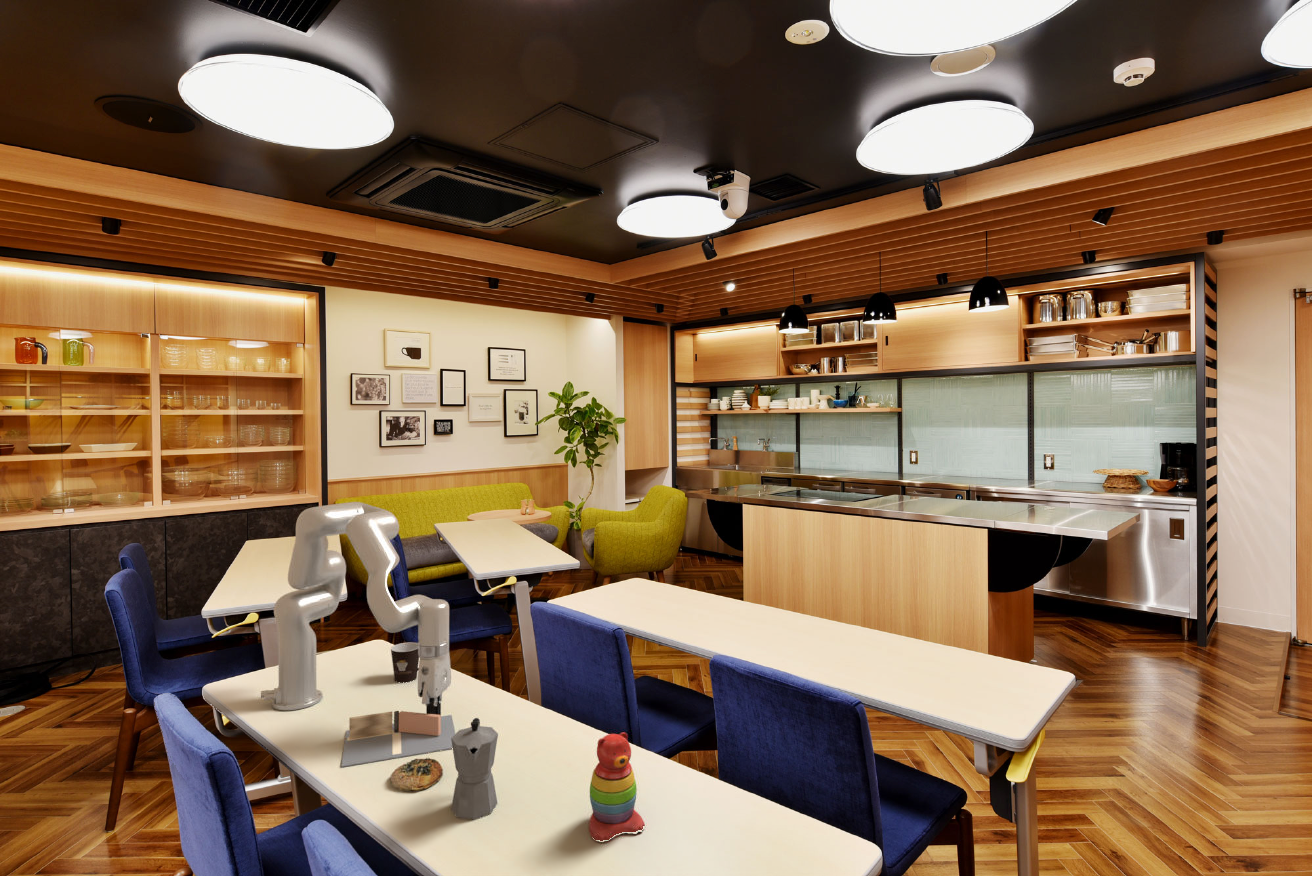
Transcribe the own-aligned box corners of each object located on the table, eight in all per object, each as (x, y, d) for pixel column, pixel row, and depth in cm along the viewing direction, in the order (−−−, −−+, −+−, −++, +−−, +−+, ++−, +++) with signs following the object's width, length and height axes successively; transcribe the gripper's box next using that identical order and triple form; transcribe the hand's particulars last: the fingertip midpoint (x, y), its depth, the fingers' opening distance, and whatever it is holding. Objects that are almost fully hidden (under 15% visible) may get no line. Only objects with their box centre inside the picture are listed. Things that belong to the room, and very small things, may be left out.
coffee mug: (384, 681, 203) (384, 649, 203) (404, 672, 211) (404, 641, 211) (414, 687, 199) (414, 654, 199) (434, 677, 207) (434, 645, 207)
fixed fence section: (349, 739, 166) (349, 719, 165) (349, 737, 167) (349, 717, 167) (399, 732, 170) (399, 712, 170) (399, 730, 171) (399, 710, 171)
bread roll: (443, 763, 155) (442, 743, 154) (442, 795, 145) (441, 774, 144) (393, 771, 152) (392, 751, 151) (387, 804, 142) (386, 783, 141)
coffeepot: (497, 823, 132) (497, 734, 132) (448, 829, 130) (448, 738, 130) (498, 782, 147) (498, 702, 147) (454, 787, 145) (454, 705, 145)
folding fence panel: (398, 731, 169) (398, 713, 169) (401, 729, 171) (401, 711, 171) (438, 735, 167) (438, 717, 167) (440, 733, 169) (440, 715, 169)
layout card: (341, 767, 153) (341, 766, 153) (346, 731, 170) (346, 730, 170) (458, 748, 162) (458, 746, 162) (451, 716, 180) (451, 714, 180)
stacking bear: (595, 845, 125) (596, 753, 125) (580, 816, 135) (580, 730, 134) (648, 832, 130) (649, 742, 129) (629, 804, 139) (630, 721, 139)
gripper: (434, 660, 163) (434, 733, 163) (459, 640, 178) (459, 707, 178) (405, 658, 164) (405, 731, 164) (433, 638, 178) (432, 706, 179)
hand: (433, 719), depth 171 cm, fingers closed
